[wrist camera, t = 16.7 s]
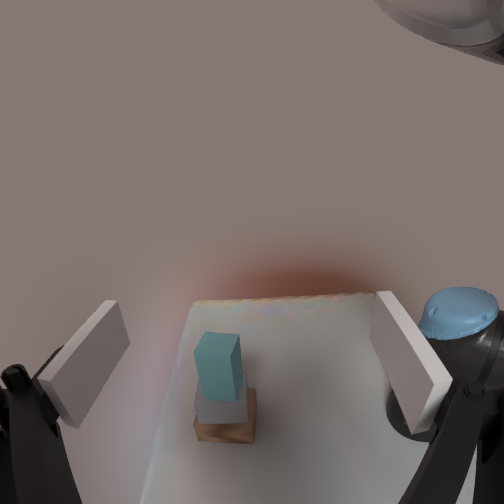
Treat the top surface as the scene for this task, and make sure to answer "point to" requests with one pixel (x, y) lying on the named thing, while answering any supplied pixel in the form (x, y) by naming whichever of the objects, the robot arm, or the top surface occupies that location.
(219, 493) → the top surface
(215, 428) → the tower base
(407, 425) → the robot arm
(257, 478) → the top surface
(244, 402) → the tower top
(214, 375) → the column block
